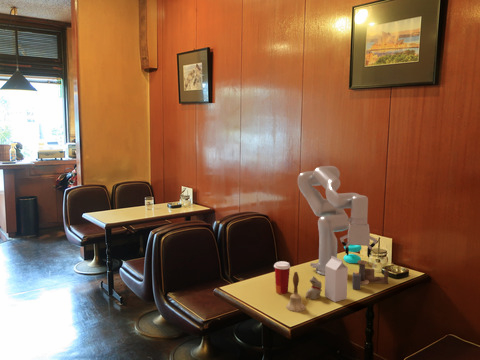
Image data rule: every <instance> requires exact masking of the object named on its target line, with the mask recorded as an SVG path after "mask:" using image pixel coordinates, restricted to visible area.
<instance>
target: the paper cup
mask: <svg viewBox="0 0 480 360" xmlns="http://www.w3.org/2000/svg"><path fill="white" fill-rule="evenodd" d="M273 268H274V277H275V282H274V283H275V292H276V294H278V295H286V294H288V292H289V283H290V281H289V280H290V269H291V265H290V262H287V261H284V260H283V261H280V260H279V261H277V262H275V263H274V264H273Z"/></svg>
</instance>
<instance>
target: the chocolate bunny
mask: <svg viewBox="0 0 480 360" xmlns="http://www.w3.org/2000/svg"><path fill="white" fill-rule="evenodd" d="M309 282H310V283H311V286H310V288H309V289H307V290H306V293H305V299H307V300H315V299H319V298H320V297H321V294H322V293H321V292H322V290H323V289H322V288H323V287H322V281H321V280H318V279H317V277H315V276H313V275H312V277H311V279H310V280H309Z"/></svg>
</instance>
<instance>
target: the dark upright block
mask: <svg viewBox="0 0 480 360" xmlns="http://www.w3.org/2000/svg"><path fill="white" fill-rule="evenodd" d="M361 286H362V285H361V274H360V273H359V271H355V272H352V287H351V288H352V290H358V291H361Z"/></svg>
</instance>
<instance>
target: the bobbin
mask: <svg viewBox="0 0 480 360" xmlns="http://www.w3.org/2000/svg"><path fill="white" fill-rule="evenodd" d="M357 264H358V265H359V267H358V272H359V273H360V274H361V285H360V286H367V285H369V284H370V282H369V280H367V279H365V268H366V265H367V264H368V261H366V260H363V259H361V260H359V261H358V263H357Z"/></svg>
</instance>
